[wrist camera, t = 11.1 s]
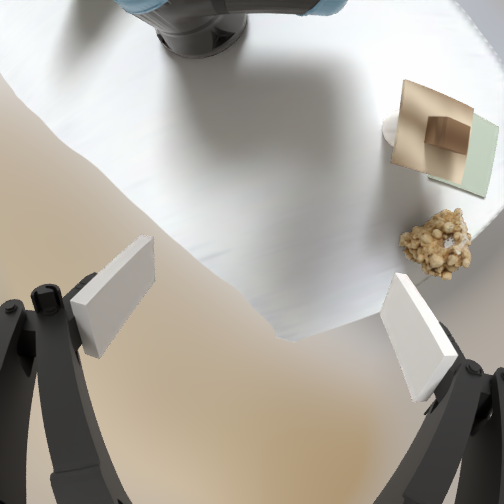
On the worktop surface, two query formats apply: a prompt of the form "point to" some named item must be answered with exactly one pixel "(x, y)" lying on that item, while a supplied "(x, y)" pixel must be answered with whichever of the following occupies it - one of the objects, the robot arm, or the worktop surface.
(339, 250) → the worktop surface
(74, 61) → the worktop surface
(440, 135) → the lid
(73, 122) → the worktop surface
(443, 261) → the mineral formation
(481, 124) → the mat
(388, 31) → the worktop surface
